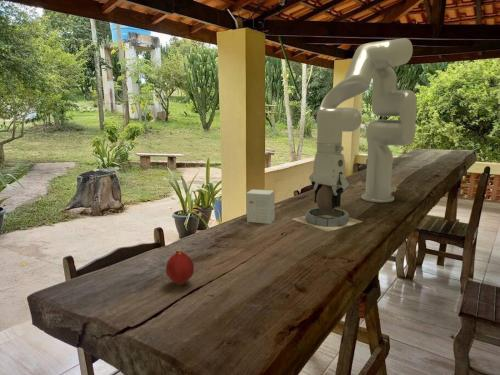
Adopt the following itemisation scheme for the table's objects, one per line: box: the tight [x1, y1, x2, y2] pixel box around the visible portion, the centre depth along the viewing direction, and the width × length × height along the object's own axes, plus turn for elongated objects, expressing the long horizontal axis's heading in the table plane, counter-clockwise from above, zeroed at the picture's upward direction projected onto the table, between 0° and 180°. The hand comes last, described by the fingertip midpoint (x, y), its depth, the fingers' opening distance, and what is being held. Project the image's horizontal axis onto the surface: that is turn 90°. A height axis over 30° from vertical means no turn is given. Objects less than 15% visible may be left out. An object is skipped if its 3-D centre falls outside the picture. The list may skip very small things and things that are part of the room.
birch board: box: [292, 215, 363, 233], centre depth 116 cm, size 16×16×1 cm
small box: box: [245, 189, 276, 225], centre depth 116 cm, size 8×6×10 cm
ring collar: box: [304, 206, 350, 227], centre depth 116 cm, size 13×13×2 cm
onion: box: [165, 249, 195, 286], centre depth 75 cm, size 6×6×8 cm
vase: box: [316, 185, 336, 211], centre depth 114 cm, size 7×7×9 cm
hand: (327, 204), depth 115 cm, fingers closed on vase, 6 cm apart
